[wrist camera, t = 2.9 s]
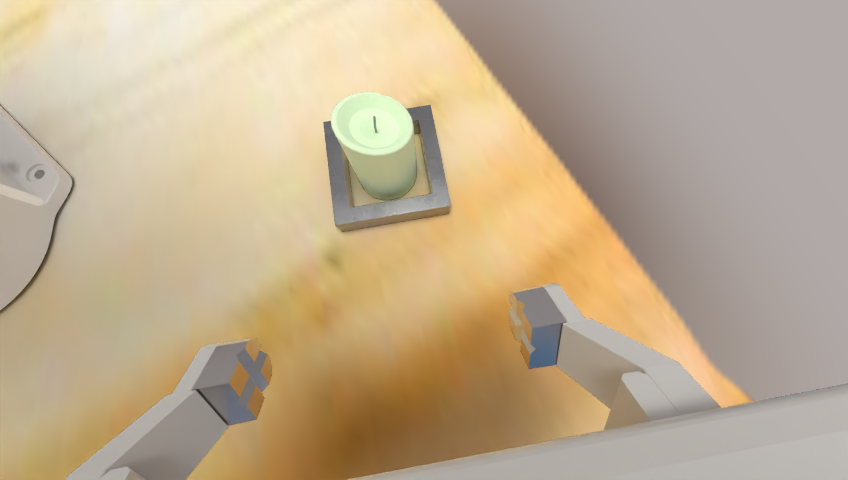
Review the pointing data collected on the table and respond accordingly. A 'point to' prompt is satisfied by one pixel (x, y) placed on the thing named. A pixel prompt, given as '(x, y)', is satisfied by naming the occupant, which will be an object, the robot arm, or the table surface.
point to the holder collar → (396, 209)
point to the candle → (377, 143)
